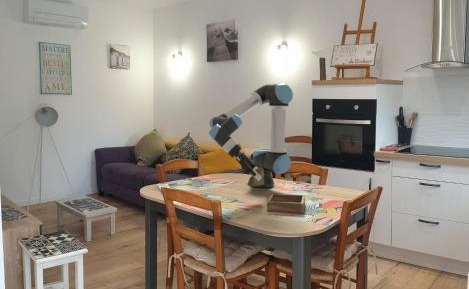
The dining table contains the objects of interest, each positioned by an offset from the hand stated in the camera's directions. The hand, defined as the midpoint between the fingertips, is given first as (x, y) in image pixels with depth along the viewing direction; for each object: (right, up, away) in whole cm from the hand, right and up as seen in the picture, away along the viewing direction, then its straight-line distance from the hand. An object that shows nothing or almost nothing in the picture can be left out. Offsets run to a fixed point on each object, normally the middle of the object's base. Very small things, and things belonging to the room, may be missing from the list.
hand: (261, 177), depth 232 cm
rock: (-3, -4, +1) cm, 5 cm away
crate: (+12, -15, -11) cm, 22 cm away
